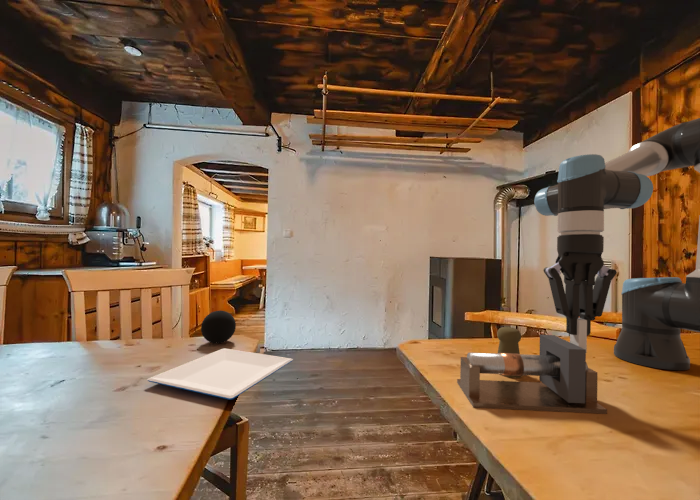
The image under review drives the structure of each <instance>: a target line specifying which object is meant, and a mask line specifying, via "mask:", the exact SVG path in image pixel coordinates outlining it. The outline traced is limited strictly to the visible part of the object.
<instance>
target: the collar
mask: <svg viewBox="0 0 700 500" xmlns="http://www.w3.org/2000/svg"><path fill="white" fill-rule="evenodd" d="M539 355H551V356H557V357H559V358H560V377H555V376H538V377H539V378H538V381H540V383H544V384H545V385H546V386H547V387H549V388H550V389H551V390H553V391H554V392H555V393H557V394H558V395H559V396H560V397H562V398H563V399H564V400H566V401H567V402H568V403H585V383H586V363H587V361H586V360H587V358H586V357H587V353H586V349H583V348H581V347H579V346H577V345H575V344H572V343H570V341H568V340H566V339H563V338H561V337H559V336H557V335H555V334H539Z"/></svg>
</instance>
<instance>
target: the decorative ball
mask: <svg viewBox="0 0 700 500" xmlns="http://www.w3.org/2000/svg"><path fill="white" fill-rule="evenodd" d="M236 328H237V323H236V320H235V318H234V316H233V315H232V314H231V313H229V312H228V311H225V310H215V311H212V312H210V313H209V314H207V315H206V316H205V317H204V319H203V320H202V323H201V325H200V331H201V335H202V337H203V338H204V339H205V340H206V341H207V342H209V343H212V344H223V343H225V342H227V341H228V340H230V339H231V338H232V337H233V335H234V334H235V332H236Z"/></svg>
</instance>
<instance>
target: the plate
mask: <svg viewBox="0 0 700 500" xmlns="http://www.w3.org/2000/svg"><path fill="white" fill-rule="evenodd" d="M293 360H294V358H290V357H284V356H283V357H282V356H276V355H272V354H271V355H270V354H265V353H258V352H253V351H251V352H250V351H244V350H238V349H232V348H225V347H224V348H221V349H218V350H216V351H213V352H210V353H208V354H205V355H203V356H201V357H198V358H195V359H194V360H190V361H188V362H185V363H183V364H181V365H179V366H175V367H173V368H171V369H168V370H166V371H163V372H161V373H159V374H158V373H157V374H155V375H152V376H151V377H148V378H147V379H146V381H147V382H148V383H149V382H150V383H153V384H158V385H162V386H167V387H171V388H176V389H180V390H186V391H189V392H194V393H199V394H202V395H207V396H210V397H211V396H212V397H215V398H216V397H217V398H221V399H225V400H230V401H231V400H235V398H237V397H238V396H240V395H241V394H243V393H245V392H246V391H248V390H249V389H251V388H252V387H254V386H255V385H257V384H259V383H260V382H262V381H264V379H266V378H268V377H269V376H271V375H273V374H274V373H276V372H278V371H279V370H281V369H282V368H284V367H285V366H287V365H288V364H290V363H292V362H293Z"/></svg>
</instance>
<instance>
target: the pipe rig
mask: <svg viewBox="0 0 700 500" xmlns="http://www.w3.org/2000/svg"><path fill="white" fill-rule="evenodd" d="M481 374H485V375H488V374H489V375H499V374H501V375H500V376H502V375H511V376H522V375H523V376H533V377H536V376H537V377H539V376H555V377H560V358H559V357H557V356H551V355H540V354H524V353H523V354H521V353H520V354H517V353H498V352H497V353H493V352H491V353H490V352H489V353H487V352H467V355H466V356H461V357H460V378H457V379H456V383H457V385H458V386H459V388H460V389H461V391H462V393H463V394H464V396H465V397H466V399H467V400H468V402H469V403H470V405H471V406H472V408H477V409H478V408H479V409H480V408H481V409H502V410H503V409H504V410H520V411H523V410H525V411H542V412H543V411H544V412H561V413H562V412H563V413H565V412H566V413H580V414H581V413H584V414H586V413H587V414H602V415H603V414H604V415H605V414H607V415H608V409H607V408H605V407H604V406H603V405H601V404H600V403H598V372H597V371H595V369H592V368H590V367H589V366H588V363H587V362H586V383H585V403H568V402H567V401H566V400H564V399H563V398H562V397H560V396H559V395H558V394H557V393H555V392H554V391H553V390H551V389H550V388H549V387H547V386H546V385H545V384H544V383H542V382H535V381H513V380H511V381H510V380H491V379H489V380H488V379H480V377H481ZM523 376H522V377H523Z"/></svg>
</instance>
